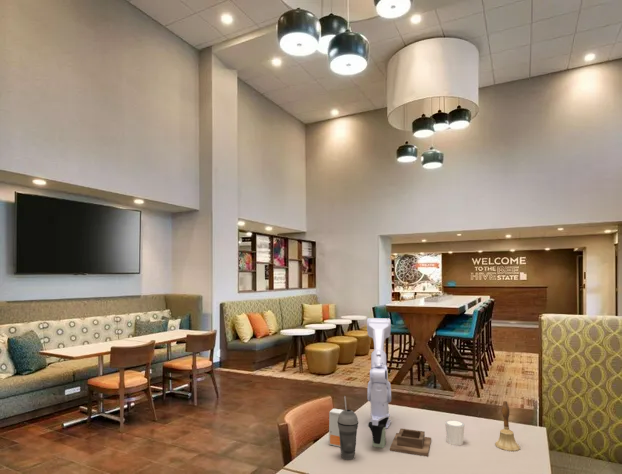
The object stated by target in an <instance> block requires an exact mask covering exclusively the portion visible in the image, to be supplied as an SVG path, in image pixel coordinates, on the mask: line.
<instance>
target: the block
mask: <svg viewBox="0 0 622 474" xmlns="http://www.w3.org/2000/svg"><path fill="white" fill-rule="evenodd" d="M386 434H387V433H386V427H383V430H382V435H381V442H380V444H375V443H374V441H373V440H372V447H375V448H380V449H384V448H385V447H386V443H387V441H386V439H387V438H386Z"/></svg>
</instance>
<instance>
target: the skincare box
mask: <svg viewBox="0 0 622 474" xmlns="http://www.w3.org/2000/svg"><path fill="white" fill-rule="evenodd" d="M343 410H344V409H338V408H332V409H331V410H330V411H329V413H328V414H329V415H328V417H329V418H328V419H329V420H328V421H329V422H328V425H329V426H328V445H330V446H334V447H339V448H340V436H339V428H338V423H337V421H338V417H339V414H340V413H341V412H342V411H343Z"/></svg>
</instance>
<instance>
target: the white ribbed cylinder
mask: <svg viewBox="0 0 622 474" xmlns="http://www.w3.org/2000/svg"><path fill="white" fill-rule="evenodd" d="M444 424H445V432H446V433H445V434H446V442H447V443H448V444H449V445H452V446H462V445H464V437H465V435H464V434H465V423H464V422H462V421H461V420H460V421H459V420H453V419H451V420H450V419H449V420H446V421H445V422H444Z"/></svg>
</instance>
